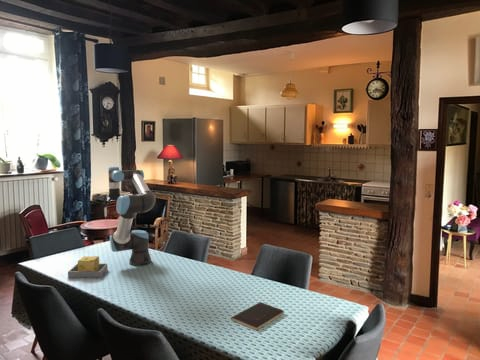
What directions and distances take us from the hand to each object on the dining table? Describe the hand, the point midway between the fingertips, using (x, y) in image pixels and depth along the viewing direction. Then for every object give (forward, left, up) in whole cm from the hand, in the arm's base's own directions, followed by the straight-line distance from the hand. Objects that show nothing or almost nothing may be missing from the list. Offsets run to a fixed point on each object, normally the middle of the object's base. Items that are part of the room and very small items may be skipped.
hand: (115, 216), depth 275 cm
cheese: (+9, +33, -31) cm, 46 cm away
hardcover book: (-96, +96, -32) cm, 140 cm away
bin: (+9, +33, -32) cm, 47 cm away
